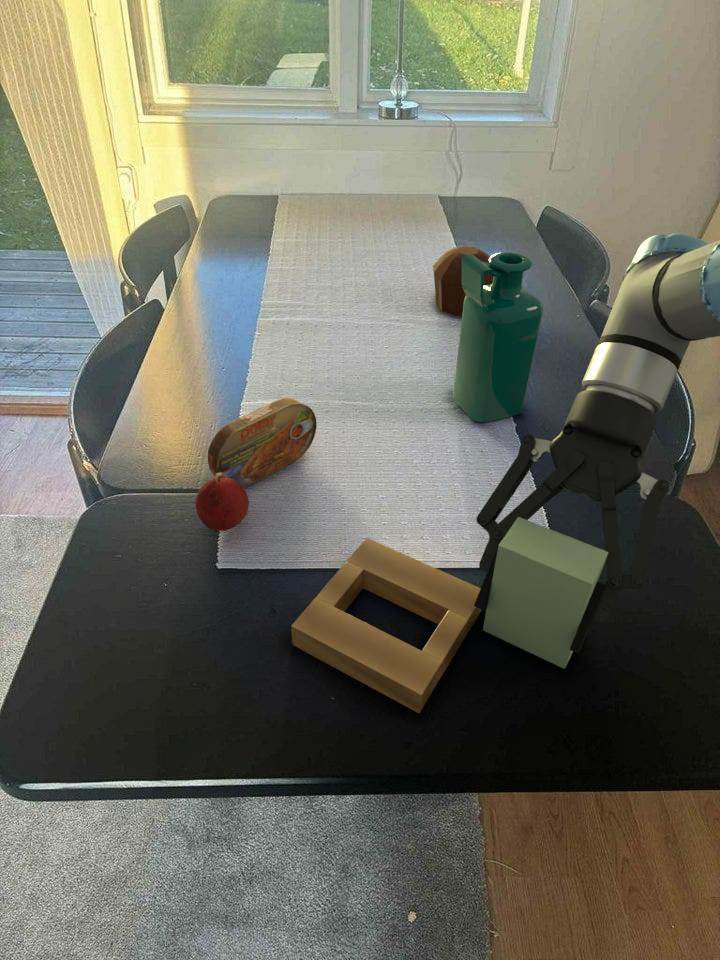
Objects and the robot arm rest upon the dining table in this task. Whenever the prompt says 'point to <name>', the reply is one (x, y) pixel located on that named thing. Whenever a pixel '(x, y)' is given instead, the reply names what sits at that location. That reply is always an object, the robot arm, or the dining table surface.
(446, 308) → the brown wooden arched block
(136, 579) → the dining table surface
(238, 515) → the onion
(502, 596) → the pale green block
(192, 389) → the dining table surface
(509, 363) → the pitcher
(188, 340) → the dining table surface
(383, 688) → the mount block
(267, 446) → the tin
